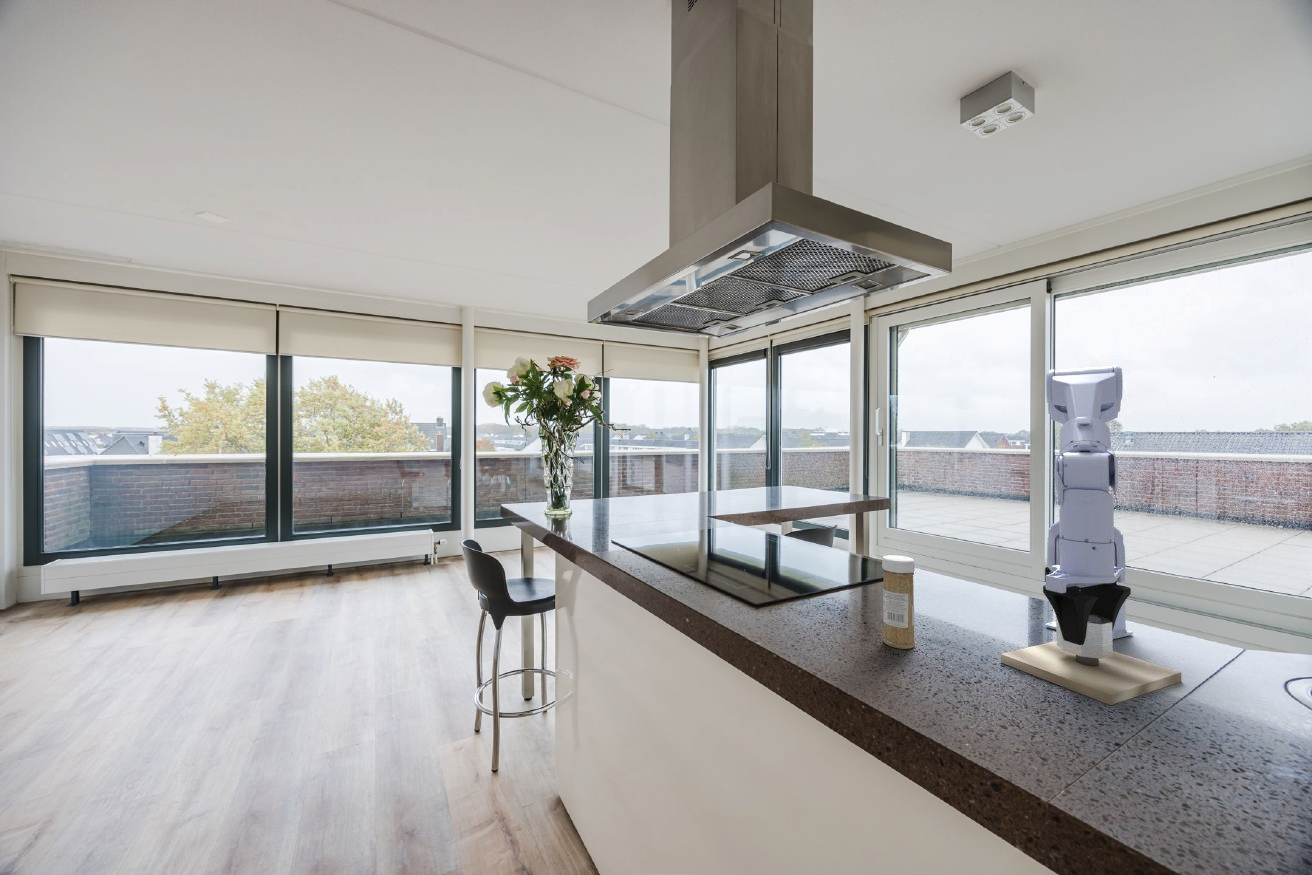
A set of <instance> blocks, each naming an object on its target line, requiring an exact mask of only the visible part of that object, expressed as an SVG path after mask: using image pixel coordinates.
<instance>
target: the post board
mask: <svg viewBox="0 0 1312 875" xmlns="http://www.w3.org/2000/svg"><path fill="white" fill-rule="evenodd" d="M1000 663H1001V664H1003V665H1007V666H1009V667H1012V668H1014V669H1017V670H1019V671H1021V672H1024V673H1027V674H1029V675H1032V676H1035V677H1037V678H1040V679H1042V680H1045V681H1046V682H1047V681H1048V682H1050V683H1053V684H1056V685H1058V686H1061V687H1062V688H1066V689H1068V690H1070V691H1074V692H1075V693H1079V694H1082V695H1084V696H1086V697H1089V698H1091V699H1094V700H1097V701H1099V702H1102V703H1104V704H1107V705H1109V706H1113V705H1115V704H1119V703H1121V702H1124V701H1127V700H1130V699H1133V698H1136V697H1139V696H1142V695H1145V694H1149V693H1151V692H1152V693H1153V692H1154V691H1158V690H1160V689H1163V688H1166V687H1170V686H1173V685H1174V684H1178V683H1181V682H1182V671H1178V670H1175V669H1172V668H1168V667H1166V666H1163V665H1159V664H1156V663H1152V662H1150V661H1146V660H1143V659H1140V658H1137V657H1133V656H1130V655H1127V654H1123V653H1120V652H1117V651H1114V650H1113V656H1112V657H1108V658H1105V659H1099V658H1091V657H1083V656H1079V655H1076V654H1072V653H1069V652H1066V651H1063V650H1062V649H1061V648H1060V647H1059V646H1058V645H1057V640H1054V641H1049V642H1045V643H1041V644H1037V645H1032V646H1029V647H1028V646H1027V647H1024V648H1020V649H1016V650H1012V651H1011V650H1010V651H1007V652H1003V653H1000Z"/></svg>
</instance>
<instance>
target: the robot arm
mask: <svg viewBox="0 0 1312 875" xmlns="http://www.w3.org/2000/svg"><path fill="white" fill-rule="evenodd" d="M1045 379H1046V380H1045V385H1046V386H1045V387H1046V388H1045V389H1046V391H1045V392H1046V403H1047V410H1048V413H1047V414H1049V415H1050V420H1052V421H1054V422H1057V423H1060V424H1062V425H1061V427H1060V430H1059V456H1058V455H1056V456H1055V459H1054V484H1055V488H1056V493H1057V504H1058V506H1060V507H1059V509H1058V512H1059V513H1058V514H1059V516H1058V517H1059V520H1058V521H1056V522H1054V523H1052V524H1051V525H1050V527H1049V528H1048V537H1047V541H1046V542H1047V543H1046V544H1047V545H1046V546H1047V548H1046V549H1047V550H1046V552H1047V553H1046V554H1047V556H1046V557H1047V558H1046V560H1047V568H1048V569H1049V571H1050V572H1051V573H1050V574H1046V575H1045V585H1042V593H1043V594H1044V596H1045V598H1046V599H1047V600H1048V602H1049V604H1050V605H1051V607H1052V610H1053V611H1054V614H1055V618H1056V617H1057V620H1058V623H1059V626H1060V630H1061V633H1062V636H1063V639H1064V640H1065V641H1068V642H1071V643H1074V644H1077V645H1083V644H1084V642H1085V639H1086V632H1087V623H1088V618H1089V614H1094V615H1098V616H1102V617H1105V618H1107V619H1108V620H1109V621H1111V622H1112V638H1113V640H1116V639H1120V638H1124V637H1127V636H1132V635H1133V634H1134V632H1133V631H1132V630H1130V629H1129V630H1128V629H1127V626H1126V625H1127V623H1125V622H1126V619H1127V618H1126V613H1127V612H1126V601H1127V599H1128V598H1129V597H1130V595H1131V594H1132V588H1131V587H1129V586H1125V585H1121V584H1120V583H1125V582H1126V550H1125V544H1124V535H1123V534H1122V532H1121V530H1120V529H1118V528H1117V527H1115V526H1114V523H1115V522H1114V520H1115V519H1114V516H1115V514H1114V511H1115V510H1114V496H1113V495H1115V496H1116V494H1117V491H1118V487H1119V464H1118V459H1117V455H1116V453H1115V451H1114V448H1112V442H1111V440H1112V439H1111V430H1110V428H1109V426H1108V424H1107V423H1108V422H1110V421H1113V420H1115V419H1118V417H1119V413H1120V412H1121V404H1122V399H1123V389H1124V387H1123V384H1124V382H1123V369H1122V368H1121V367H1120V366H1119V365H1118V364H1115V365H1114V364H1113V365H1112V366H1100V367H1099V366H1098V367H1084V368H1069V369H1058V370H1055V369H1050V370H1049V371H1048V372H1047V373H1046V375H1045ZM1109 487H1110V488H1111V489H1112V490H1113V491H1112V492H1113V495H1112V494H1111V493H1110V491H1109ZM1045 627H1046V628H1050V629H1053V630H1056V620H1055V621H1051V622H1047V623H1045Z"/></svg>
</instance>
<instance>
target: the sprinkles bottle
mask: <svg viewBox="0 0 1312 875" xmlns="http://www.w3.org/2000/svg"><path fill="white" fill-rule="evenodd" d="M881 560H882V561H881V568H882V572H883V581H882V582H883V589H882V598H883V599H882V601H883V602H882V606H883V607H882V610H883V611H882V612H883V613H882V614H883V615H882V616H883V639H882V641H883V642H884V644H886V645H887V646H888V647H891V648H895V649H901V650H907V649H912V648H913V649H914V647H915V646H916V642H915V604H914V601H915V600H914V599H915V598H914V595H915V594H914V592H915V591H914V589H915V588H914V573H915V570H916V569H915V568H916V567H915V566H916V565H915V564H916V563H915V559H913V558H912V557H909V556H905V555H898V554H897V555H896V554H895V555H894V554H893V555H891V554H890V555H889V554H888V555H883V556H882V559H881Z"/></svg>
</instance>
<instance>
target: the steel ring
mask: <svg viewBox="0 0 1312 875" xmlns="http://www.w3.org/2000/svg"><path fill="white" fill-rule="evenodd" d="M1055 621H1056V629H1055V630H1056V632H1055V635H1056V641H1057V645H1058V646H1059V647H1060V648H1061V649H1062V650H1063V651H1066V652H1069V653H1072V654H1076V655H1079V656H1083V657H1091V658H1099V659H1105V658H1108V657H1112V656H1113V651H1114V648H1113V647H1114V644H1113V643H1114V642H1113V640H1114V639H1113V638H1112V622H1111V621H1109V620H1108V619H1107V618H1105V617H1102V616H1098V615H1094V614H1089V618H1088V623H1087V632H1086V639H1085V642H1084V644H1083V645H1077V644H1074V643H1071V642H1068V641H1065V640H1064V639H1063V636H1062V633H1061V630H1060V626H1059V623H1058V620H1057V617H1056V616H1055Z"/></svg>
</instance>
